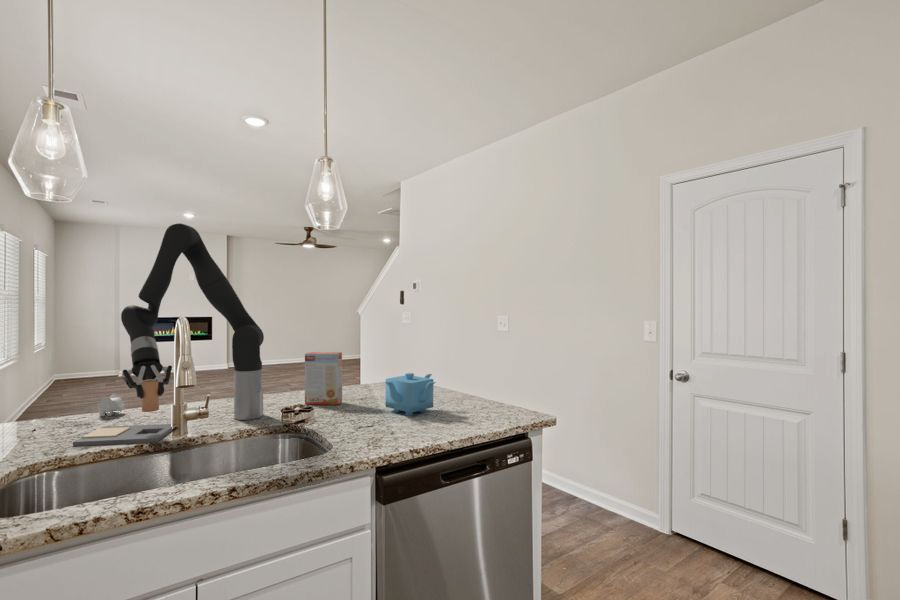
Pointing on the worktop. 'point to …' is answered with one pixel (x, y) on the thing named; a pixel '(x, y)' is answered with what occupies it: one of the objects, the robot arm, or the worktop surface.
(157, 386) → the peg
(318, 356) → the cracker box
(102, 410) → the elephant figurine
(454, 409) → the worktop surface
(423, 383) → the teakettle
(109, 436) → the pocket plate
